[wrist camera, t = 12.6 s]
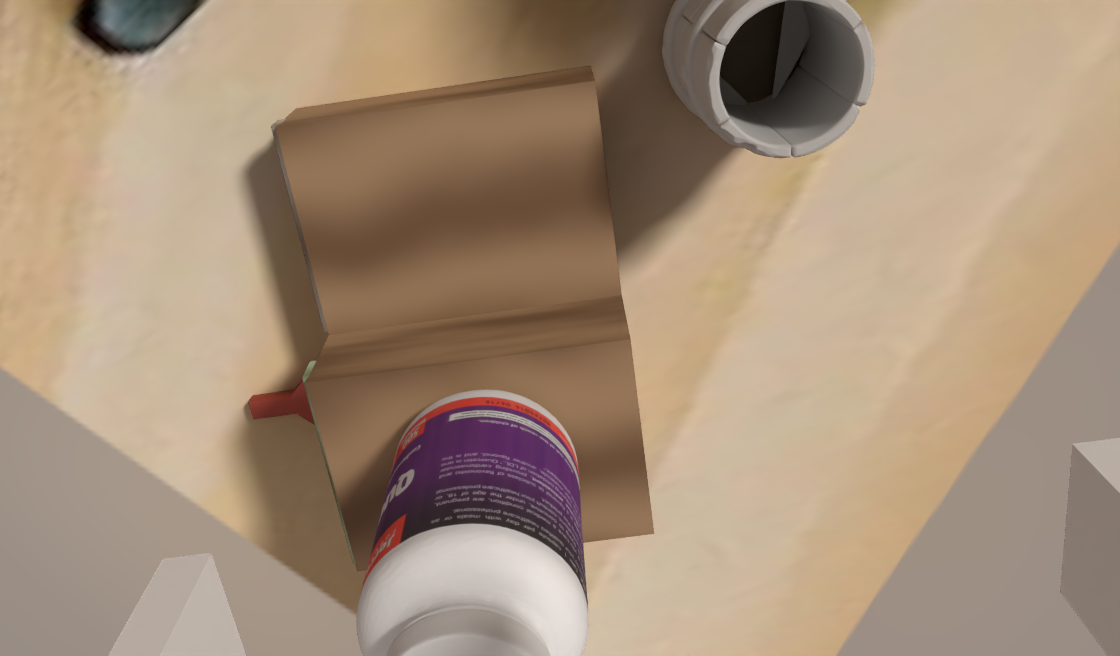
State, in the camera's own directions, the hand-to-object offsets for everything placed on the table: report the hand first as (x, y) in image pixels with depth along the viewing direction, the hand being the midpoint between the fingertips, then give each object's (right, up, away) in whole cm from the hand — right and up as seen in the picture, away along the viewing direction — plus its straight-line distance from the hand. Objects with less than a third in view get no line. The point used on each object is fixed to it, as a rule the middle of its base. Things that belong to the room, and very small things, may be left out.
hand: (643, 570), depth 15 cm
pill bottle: (-5, -2, +29) cm, 29 cm away
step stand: (-8, +6, +35) cm, 37 cm away
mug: (+8, +19, +30) cm, 36 cm away
